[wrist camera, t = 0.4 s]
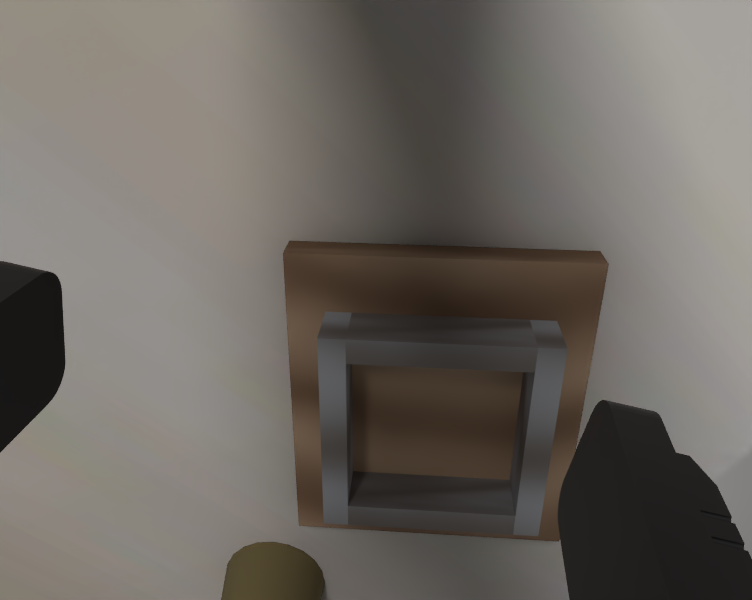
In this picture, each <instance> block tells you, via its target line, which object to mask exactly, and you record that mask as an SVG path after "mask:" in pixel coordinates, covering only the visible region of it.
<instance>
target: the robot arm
mask: <svg viewBox="0 0 752 600" xmlns="http://www.w3.org/2000/svg"><path fill="white" fill-rule="evenodd" d="M64 370H65V346H64V326H63V307H62V289H61V284H60V281H59V279H58V277H57V276H56V275H55V274H54V273H51V272H48V271H43V270H39V269H35V268H30V267H26V266H21V265H17V264H13V263H8V262H4V261H0V452H1V451H2V450H3V449H4V448H5V447H6V446H7V445H8V444H9V443H10V442H11V441H12V440H13V439H14V438H15V437H16V436H17V435H18V434H19V433H20V432H21V431H22V430H23V429H24V428H25V427H26V426H27V425H28V424H29V423H30V422H31V421H32V420H33V419H34V418H35V417H36V416H37V415H38V414H39V413H40V412H41V411H42V410H43V409H44V408H45V407H46V405H47V404H48V403H49V402H50V401H51V400H52V399H53V397H54V396H55V394H56V392H57V391H58V388H59V386H60V384H61V381H62V378H63V374H64ZM558 527H559V533H560V540H561V546H562V553H563V559H564V566H565V572H566V579H567V585H568V592H569V598H570V600H752V559H751V557H750V554H749V552H748V551H745V550H744V542H743V540H742V538H741V535H740V533H739V531H738V529H737V527H736V525H735V524H733V523H731V514H730V512H729V510H728V508H727V506H726V504H725V502H724V500H723V498H722V496H721V493H720V491H719V489H718V487H717V485H716V484H715V483H714V482H713V481H712V480H711V479H710V478H709V477H708V476H707V474H706V473H705V472H704V471H703V470H702V469H701V468H700V467H699V466H698V465H697V464H696V463H695V461H694V460H693V459H692V458H691V457H690V456H688V455H683V454H679V453H676V452H675V450H674V447H673V445H672V443H671V440H670V438H669V436H668V433H667V431H666V428H665V426H664V424H663V421H662V419H661V417H660V415H659V414H658V413H657V412H654V411H650V410H646V409H641V408H637V407H633V406H628V405H624V404H619V403H615V402H611V401H606V400H602V401H600V402H599V403H598V404H597V405H596V406H595V408H594V410H593V412H592V414H591V416H590V419H589V421H588V423H587V426H586V428H585V431H584V433H583V435H582V438H581V440H580V442H579V445H578V447H577V449H576V452H575V454H574V457H573V459H572V461H571V464H570V466H569V468H568V471H567V473H566V475H565V478H564V481H563V484H562V487H561V491H560V496H559V502H558Z"/></svg>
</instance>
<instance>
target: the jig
mask: <svg viewBox="0 0 752 600" xmlns="http://www.w3.org/2000/svg"><path fill="white" fill-rule="evenodd" d="M283 261H284V278H285V295H286V312H287V329H288V346H289V363H290V380H291V397H292V414H293V431H294V448H295V465H296V482H297V499H298V516H299V526H314V527H330V528H347V529H363V530H380V531H396V532H413V533H429V534H445V535H462V536H478V537H495V538H511V539H528V540H544V541H559V540H560V533H559V527H558V502H559V496H560V491H561V487H562V484H563V481H564V478H565V475H566V473H567V471H568V468H569V466H570V464H571V461H572V459H573V457H574V454H575V450H576V444H577V439H578V433H579V428H580V422H581V416H582V411H583V405H584V399H585V394H586V388H587V383H588V377H589V371H590V366H591V360H592V355H593V349H594V343H595V338H596V332H597V327H598V321H599V315H600V310H601V304H602V299H603V293H604V287H605V282H606V276H607V271H608V265H609V264H608V263H607V261H606V259H605V258H604V256H603V255H602V253H601V252H600V251H576V250H546V249H517V248H487V247H457V246H428V245H398V244H368V243H338V242H309V241H289V243H288V245H287V247H286V248H285V250H284V252H283Z"/></svg>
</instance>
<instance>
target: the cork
mask: <svg viewBox="0 0 752 600" xmlns="http://www.w3.org/2000/svg"><path fill="white" fill-rule="evenodd" d="M323 587H324V578H323V573H322V570H321V569H320V567H319V566H318V565H317V563H316V562H315V560H314V559H312V558H311V557H310V556H308V555H307V554H306V553H305V552H303V551H301V550H299V549H297V548H294V547H292V546H290V545H286V544H281V543H276V542H262V543H255V544H252V545H249V546H245V547H243V548H242V549H240V550H239V551H238V552H236V553H235V554H234V555H233V556H232V558H231V559H230V561H229V563H228V565H227V571H226V576H225V581H224V587H223V592H222V598H221V600H320V598H321V595H322V592H323Z"/></svg>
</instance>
